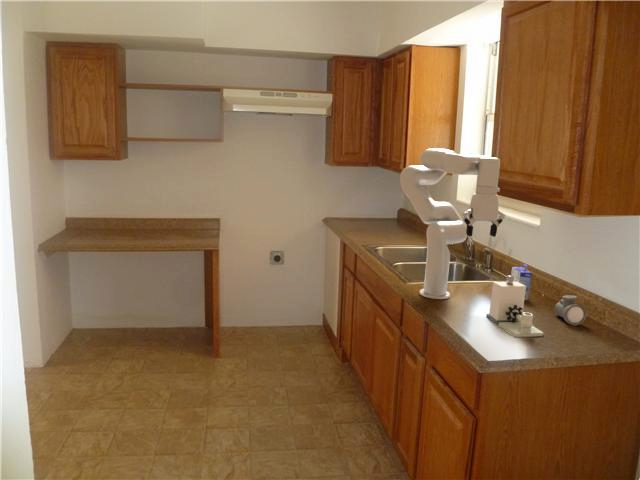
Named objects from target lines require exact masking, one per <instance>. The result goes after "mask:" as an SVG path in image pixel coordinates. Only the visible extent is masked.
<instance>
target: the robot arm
mask: <svg viewBox="0 0 640 480" xmlns="http://www.w3.org/2000/svg"><path fill="white" fill-rule="evenodd" d="M419 160H420V163H421V165H407V166H406V167H404V168H403V169H402V171H401V172H400V177H399V180H400V181H399V182H400V186H401V190H402V191H403V193H404V195H405V196H406V197H407V198H408V199H409V201H410V203H411V204H412V207H413V208H414V210H415V211H416V213H417V215H418V217H419V219H421V221H422V222H423V223H424V224H426V225H428V226H427V228H426V242H427V243H426V245H427V249H426V261H425V271H424V279H423V280H424V282H423V288H421V289H419V295H420V296H422V297H424V298H428V299H432V300H446V299H449V298H450V296H451V293H450V292H449V291H447V290H448V282H449V281H448V280H449V272H450V271H449V270H450V261H451V253H450V249H449V247H448V245H455V244H460V243H464V241H466V239H467V238H468V236H469V237H472V236H473V231H474V226H473V225H474V223H475V222H491V225H490V231H489V235H490V236H491V237H494V238H496V236H497V234H498V233H497V232H498V227H499V226H500V224H501V223H503V220H504V218H505V217H506V214H505V213H503V212H501V211H500V210H499V195H498V192H501V188H500V187H498V184H499V176H500V168H501V167H500V166H501V160H500V158H498V157H496V156H495V157H492V156H486V155H482V154H459V153H458V154H457V153H456V152H455V151H454V150H450V149H446V148H428V149H426V150H424V151H423V152H422V153H421V154H420V159H419ZM447 173H448V174H453V175H460V176H467V175H468V176H477V177H476V185H475V193H473V194H472V196H471V199H470V203H469V207H468V209H467V210H466V211H464V212H462V213H461V215H460V214H459V212H458V210H457V209H456V207H455V206H454V205H453V204H452V203H450V202H447V201H436V200H434V199H433V198H432V197H433V196H431V194H430V193H429V191H428V190H426V188H424V187H422V186H432V185H436V184H438V183H439V182H440V181H441V180H442V178H443V177H444V176H445V175H447ZM461 216H462V217H461Z"/></svg>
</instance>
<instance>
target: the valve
mask: <svg viewBox="0 0 640 480" xmlns="http://www.w3.org/2000/svg"><path fill="white" fill-rule="evenodd" d="M517 307H518V306H517V305H514V308H511V307H508V309H509V312H506V313H505V314H506V315H509V317H507V320H509V321H510V319H512V322H513V323H515V322H516V321H515V320H518V322H519V323H520V325H521V326H520V332H522V333H526V334H529V333H531V329H532V328H531V327H532V326H534V325H533V324H534V323H533V320H534V314H533V313H531V312H525V311H523V312H521V311H520V310H522V308H521V307H519V308H517ZM513 310H518V312H519V313H518V312H515V311H514V312H512V311H513ZM511 313H512V315H513V316H514V317H515V318H512V317H511V315H510V314H511Z"/></svg>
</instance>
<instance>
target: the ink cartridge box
mask: <svg viewBox="0 0 640 480" xmlns="http://www.w3.org/2000/svg"><path fill="white" fill-rule="evenodd" d="M528 266H529V265H527V264H526V263H523V265H521V266H519V267H518V266H512V267H511V273H510V275H511V276H514V280H513V282H519V283H521V284H523V285H525V286H526V292H525V299H524V301H529V294H530V289H531V282H532V276H533V272H531V271H529V270H528V269H527V268H528Z"/></svg>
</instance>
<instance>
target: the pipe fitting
mask: <svg viewBox="0 0 640 480" xmlns="http://www.w3.org/2000/svg"><path fill="white" fill-rule="evenodd" d="M577 300H578V296H576V295H572V294H567V295H563V296H562V299H560V301H559V302H557V303H556V304H555V305H554V307H553V308H554V310H553V311H554V313H555V314H556V315H557V316H559V317H560V318H563V320H564V321H565V322H566V323H568V325H571V326H573V327H575V326H580V325H582V324H583V323H584V322H585V320H586V318H587V311H586V309H585V307H584V306H582V305H581V304H578V303H577Z"/></svg>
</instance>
